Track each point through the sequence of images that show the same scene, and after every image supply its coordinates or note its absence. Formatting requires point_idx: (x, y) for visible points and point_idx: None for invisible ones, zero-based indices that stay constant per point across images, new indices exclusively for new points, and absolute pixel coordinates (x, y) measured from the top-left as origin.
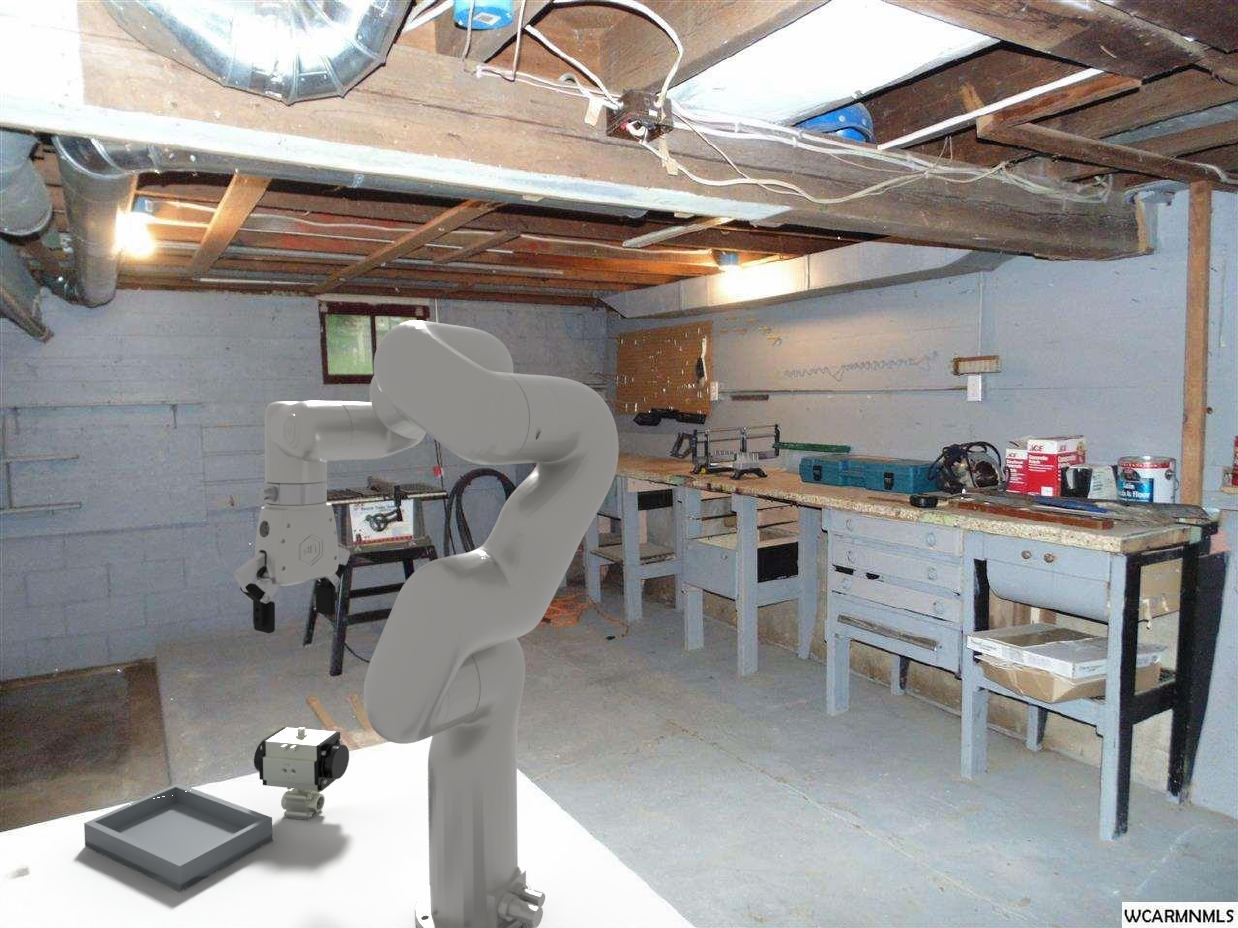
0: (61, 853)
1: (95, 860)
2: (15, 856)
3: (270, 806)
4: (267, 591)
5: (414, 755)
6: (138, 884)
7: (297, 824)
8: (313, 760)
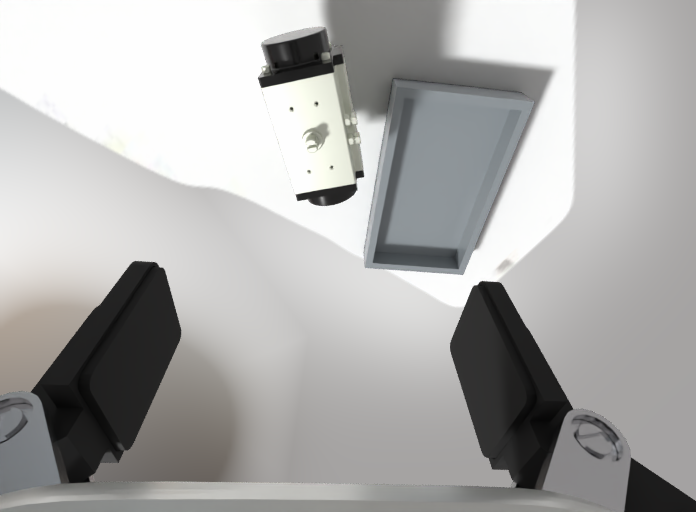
0: (471, 265)
1: None
2: None
3: None
4: (617, 485)
5: (79, 61)
6: None
7: None
8: (338, 71)
